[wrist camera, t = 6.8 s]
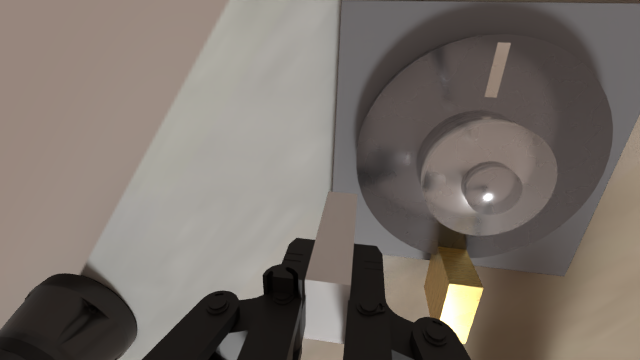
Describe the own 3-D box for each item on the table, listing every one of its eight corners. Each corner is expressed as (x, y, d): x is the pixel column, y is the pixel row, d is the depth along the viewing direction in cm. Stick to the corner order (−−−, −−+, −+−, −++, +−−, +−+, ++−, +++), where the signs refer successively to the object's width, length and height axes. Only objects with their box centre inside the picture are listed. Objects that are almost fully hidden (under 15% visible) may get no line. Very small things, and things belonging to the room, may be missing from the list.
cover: (409, 203, 26) (417, 239, 21) (424, 107, 22) (438, 124, 18) (511, 212, 25) (543, 252, 20) (543, 113, 21) (590, 133, 17)
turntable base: (331, 239, 33) (329, 249, 31) (343, 2, 23) (341, -1, 22) (555, 265, 30) (566, 278, 28) (669, 6, 20) (695, 3, 19)
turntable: (346, 275, 32) (341, 324, 26) (366, 31, 22) (364, 27, 17) (532, 299, 29) (569, 359, 24) (643, 38, 20) (748, 36, 14)
